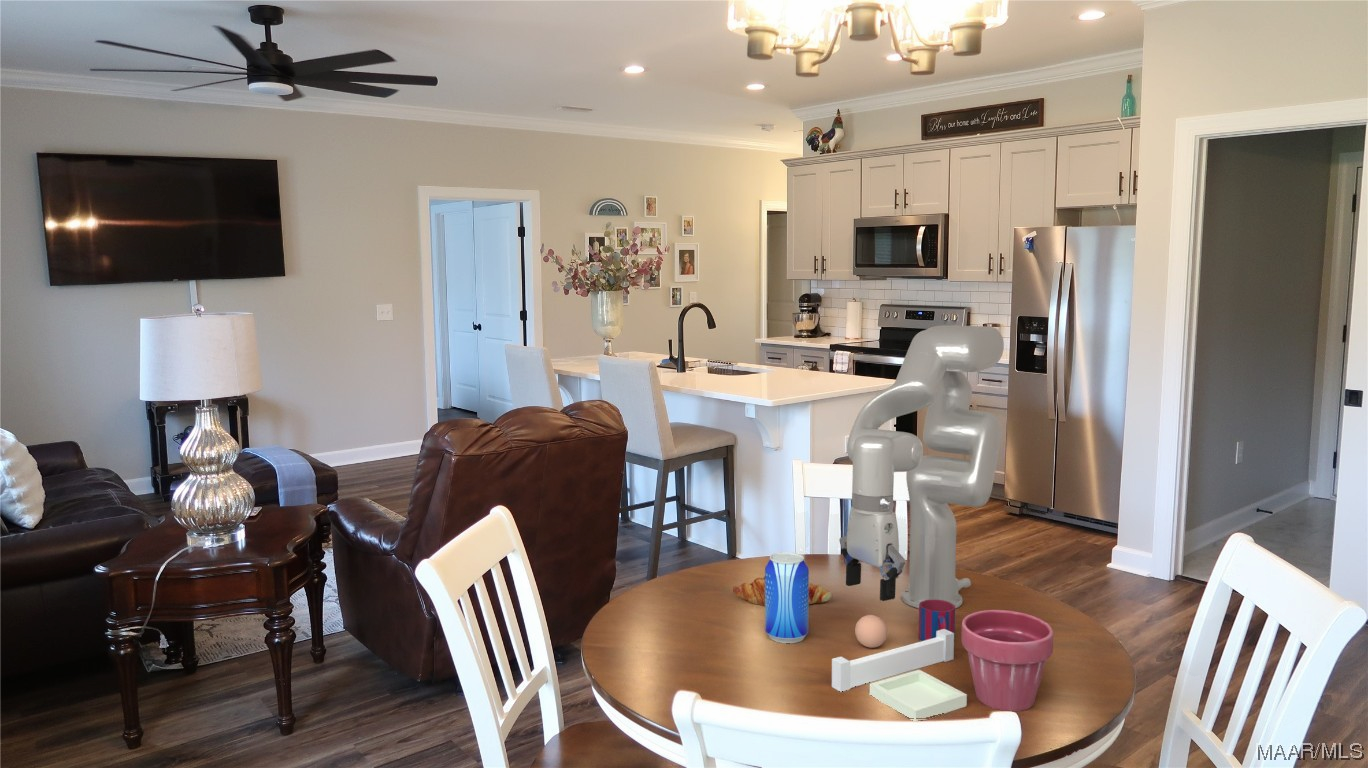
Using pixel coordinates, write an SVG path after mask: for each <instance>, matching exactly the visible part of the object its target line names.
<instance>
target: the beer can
mask: <svg viewBox="0 0 1368 768" xmlns="http://www.w3.org/2000/svg"><path fill="white" fill-rule="evenodd" d="M804 559H805V557H804V555H803V554H800V553H796V552H791V551H790V552H788V551H784V552H783V551H782V552H776V553H772V554H771V555H770V556H769V560H768V562H767V564H766V565H765V567H764V568H765V569H764V577H765V606H764V630H765V633H766V634H767V635H768V638H769V640H771V639H772V640H771V641H773V640H774V641H773V642H775V641H776V643H779V642H780V643H779V644H786V643H790V644H797V643H800V642H802V641H804V640H805V638H806V636H807V635H808V633H809V613H810V611H809V608H810V607H809V605H810V604H809V582H810V581H809V580H810V579H809V578H810V577H809V576H810V571H809V570H810V569H809V567H808V565H807V563H806V562H805V560H804Z"/></svg>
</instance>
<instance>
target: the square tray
mask: <svg viewBox="0 0 1368 768" xmlns="http://www.w3.org/2000/svg"><path fill="white" fill-rule="evenodd" d="M870 695H872V696H873V697H875V698H876V699H875V698H874V699H875V700H877V699H878V700H879V702H880V701H881V702H880V703H882V704H883V703H884V705H885V704H886V705H885V706H887V705H888V706H890V707H892V708H893V709H895V710H897V711H898V712H900V713H902V714H904V715H905V716H907V717H909V718H914V719H909V720H910V721H912V720H913V721H918V720H923V721H926V720H927V719H916V718H926V717H930V716H933V715H938V714H941V715H943V714H942V713H944V714H948V713H950V712H953V711H956V710H959V709H962V708H965V707H967V703H968V702H967V701H968V700H967V697H968V694H967V693H964V692H963V691H961V690H959V689H956V688H955V687H953V686H952V685H950V684H948V683H946V682H943V681H941V680H940V679H938V678H936V677H934V676H932V675H931V674H928V673H927V672H925V671H923V670H921V669H915V670H911V671H908V672H904V673H901V674H897V675H894V676H890V677H887V678H884V679H880V680H877V681H873V682H870V683H869V696H870ZM872 696H871V697H872ZM873 697H872V698H873ZM878 700H877V701H878ZM888 706H887V707H888ZM890 707H889V708H890ZM892 708H891V709H892ZM893 709H892V710H893ZM895 710H894V711H895ZM897 711H896V712H897ZM898 712H897V713H898ZM900 713H899V714H900ZM902 714H901V715H902ZM905 716H904V717H905ZM938 716H939V715H938ZM907 717H906V718H907ZM913 721H912V722H913Z"/></svg>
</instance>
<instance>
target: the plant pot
mask: <svg viewBox="0 0 1368 768" xmlns="http://www.w3.org/2000/svg"><path fill="white" fill-rule="evenodd" d="M961 644H962V647H963V648H964V649H965V650H966V651H967V655H968V661H969V667H970V671H971V675H972V680H973V685H974V690H975V695H976V698H977V700H978V701H979V702H981V703H982V704H983V705H985V706H987V707H989V708H992V709H995V710H999V711H1005V712H1020V711H1026V710H1028V709H1030V708H1032V706H1034V704H1035V701H1036V697H1037V694H1038V691H1039V687H1040V684H1041V680H1042V677H1043V674H1044V669H1045V666H1046V662H1047V660H1049V658H1051V656H1053V655H1052V654H1053V651H1054V630H1053V628H1052V627H1051V625H1050V624H1049V623H1048V622H1046V621H1044V620H1042V619H1041V618H1039V617H1037V616H1033V615H1031V614H1028V613H1023V612H1018V611H1014V610H1005V609H988V610H987V609H986V610H980V611H975V612H971V613H969V614H968V615H966V616H965V617H964V618H963V619H962V622H961Z"/></svg>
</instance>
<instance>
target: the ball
mask: <svg viewBox="0 0 1368 768" xmlns="http://www.w3.org/2000/svg"><path fill="white" fill-rule="evenodd" d="M854 632H855V637H856V639H857V641H858V642H859V643H860V644H861V645H862V646H863V647H867V648H871V649H872V648H873V649H874V648H878V647H881V645H883V644H884V643H885V642H886V640H887V637H888V626H887V625H886V622H885V621H884V620H883V619H882V617H879V616H877V615H874V614H867V615H864V616H862V617H861V618H859V620H858V621H857V622H856V624H855V629H854Z"/></svg>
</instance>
